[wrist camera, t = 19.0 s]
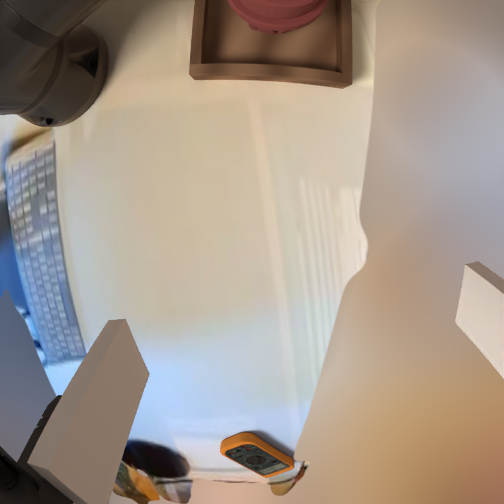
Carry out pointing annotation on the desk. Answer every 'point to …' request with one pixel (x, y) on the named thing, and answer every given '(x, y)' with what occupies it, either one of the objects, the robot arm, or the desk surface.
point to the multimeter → (255, 454)
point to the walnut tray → (272, 47)
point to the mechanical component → (277, 13)
